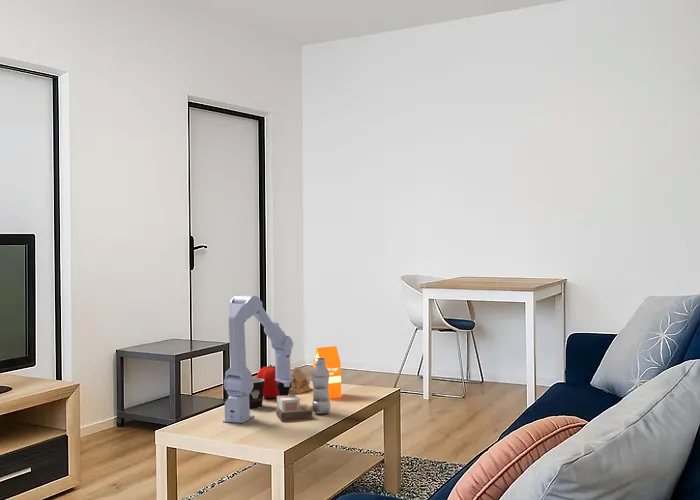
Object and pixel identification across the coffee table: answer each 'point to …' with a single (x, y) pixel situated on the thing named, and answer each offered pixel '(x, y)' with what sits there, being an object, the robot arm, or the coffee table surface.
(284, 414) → the display stand
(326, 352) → the orange juice
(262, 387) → the coffee mug
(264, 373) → the red bell pepper
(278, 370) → the robot arm
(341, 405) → the coffee table surface
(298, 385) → the ceramic model
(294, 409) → the carton
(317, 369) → the plastic bottle
